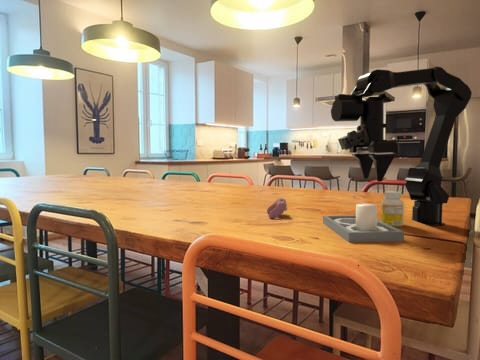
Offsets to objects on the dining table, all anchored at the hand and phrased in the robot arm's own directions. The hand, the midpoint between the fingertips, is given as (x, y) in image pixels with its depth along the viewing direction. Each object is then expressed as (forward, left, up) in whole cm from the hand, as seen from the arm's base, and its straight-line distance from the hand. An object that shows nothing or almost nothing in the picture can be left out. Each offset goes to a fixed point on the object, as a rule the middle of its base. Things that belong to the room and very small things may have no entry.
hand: (372, 180), depth 91 cm
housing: (+7, +9, -13) cm, 17 cm away
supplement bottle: (-5, +2, -13) cm, 14 cm away
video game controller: (+23, -18, -13) cm, 32 cm away
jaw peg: (+7, +13, -12) cm, 19 cm away
